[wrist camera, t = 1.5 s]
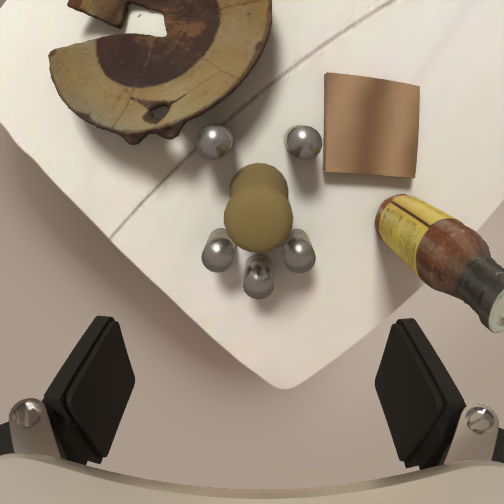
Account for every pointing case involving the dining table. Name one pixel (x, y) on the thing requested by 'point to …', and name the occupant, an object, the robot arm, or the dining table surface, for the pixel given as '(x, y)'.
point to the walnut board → (370, 126)
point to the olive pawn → (258, 209)
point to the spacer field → (297, 243)
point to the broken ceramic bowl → (160, 63)
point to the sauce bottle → (444, 255)
